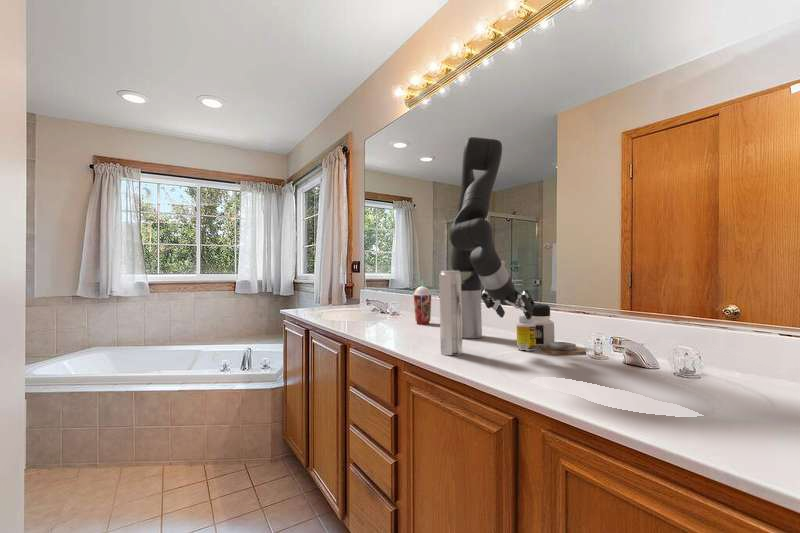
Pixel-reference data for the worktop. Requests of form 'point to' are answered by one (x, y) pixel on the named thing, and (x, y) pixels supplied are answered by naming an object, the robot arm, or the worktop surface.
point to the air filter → (450, 312)
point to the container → (543, 324)
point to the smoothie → (422, 304)
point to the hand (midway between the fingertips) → (515, 316)
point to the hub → (561, 348)
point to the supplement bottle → (526, 334)
